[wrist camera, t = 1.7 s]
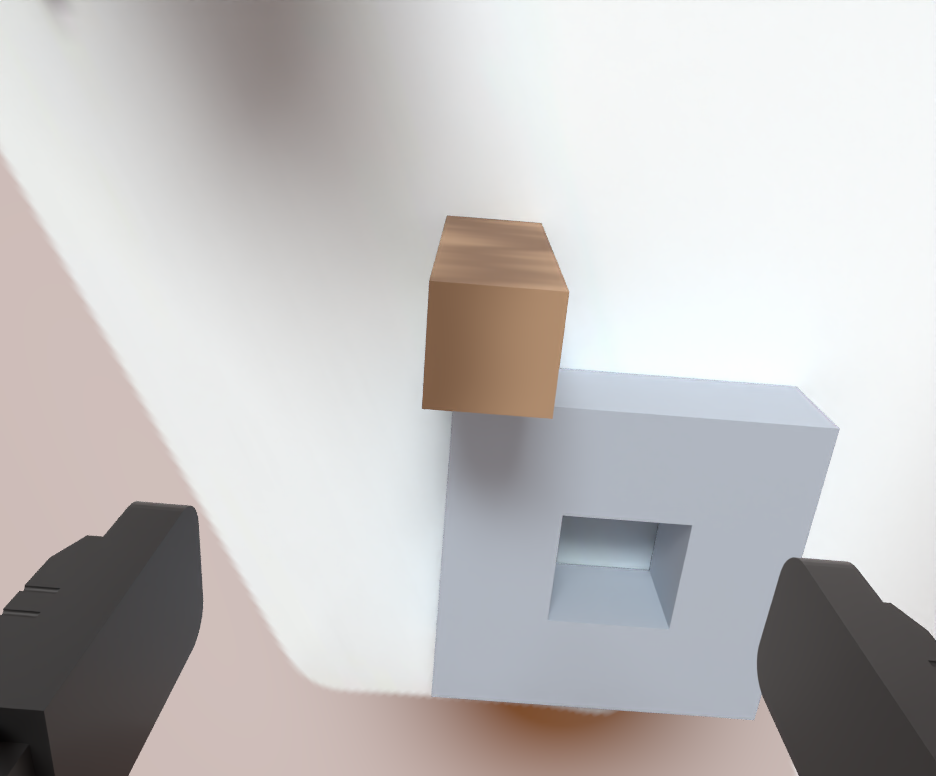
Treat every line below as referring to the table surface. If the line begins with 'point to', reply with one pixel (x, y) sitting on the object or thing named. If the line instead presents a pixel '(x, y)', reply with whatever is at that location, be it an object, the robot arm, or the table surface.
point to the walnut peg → (494, 320)
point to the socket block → (634, 499)
